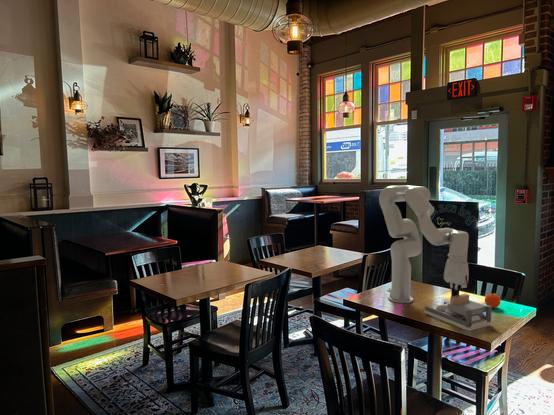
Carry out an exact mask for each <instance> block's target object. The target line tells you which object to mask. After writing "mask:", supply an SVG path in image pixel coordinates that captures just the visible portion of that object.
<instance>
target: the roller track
mask: <svg viewBox="0 0 554 415" xmlns="http://www.w3.org/2000/svg"><path fill="white" fill-rule="evenodd" d="M449 303H450V301H449V302H448V301H447V300H445V301H443V304H439V305H436V307H432V306H429V305H424V314H427V315H428V316H432V317H433V318H436V319H438V320H441V321H442V322H445V323H448V324H451V325H453V326H456V327H458V328H460V329H463V330H465V331H468V332H470V331H473V330H477V329H481V328H485V327H489V326H491V322H492V309H493V308H492V306H487V305H486V312H485V320H483V321H480V322H476V323H472V311H470V310H469V311H467V312H466V321H465V320H463V317H464V315H462V314H459V313H456V312H454V311H451V310H448V304H449Z"/></svg>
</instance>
